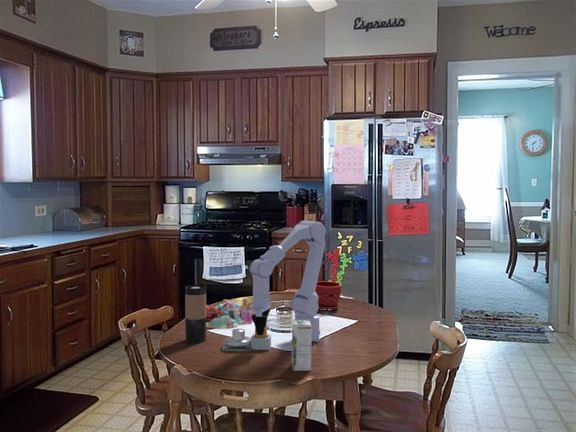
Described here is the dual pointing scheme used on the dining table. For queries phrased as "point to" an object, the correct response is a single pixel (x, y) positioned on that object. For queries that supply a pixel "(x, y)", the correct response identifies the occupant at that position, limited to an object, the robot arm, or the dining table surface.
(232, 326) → the candy landscape model
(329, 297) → the plant pot
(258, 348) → the bracket head
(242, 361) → the dining table surface
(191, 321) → the travel mug
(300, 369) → the syrup box
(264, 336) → the wedge
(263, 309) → the robot arm
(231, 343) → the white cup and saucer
